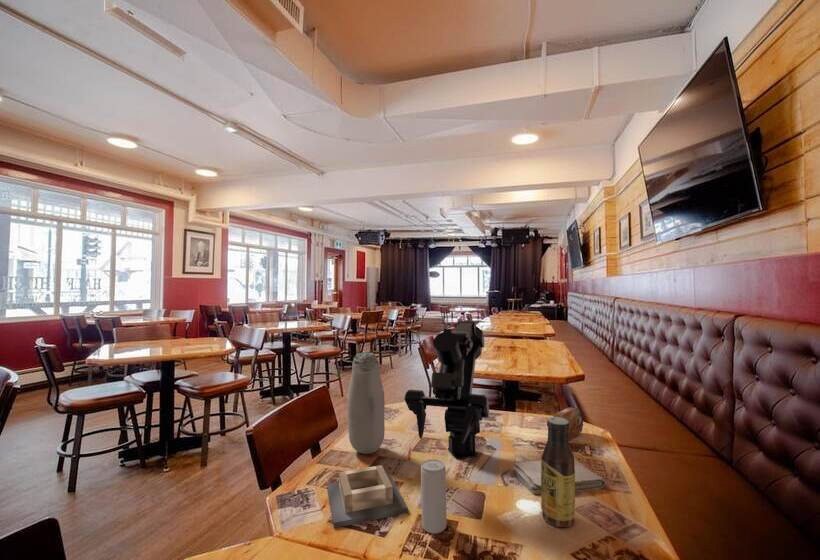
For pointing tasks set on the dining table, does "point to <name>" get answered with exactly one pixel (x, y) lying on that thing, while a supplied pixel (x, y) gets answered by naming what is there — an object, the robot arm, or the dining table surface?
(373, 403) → the grey bottle
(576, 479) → the washcloth
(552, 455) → the sauce bottle
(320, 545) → the dining table surface
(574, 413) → the brown rounded slab
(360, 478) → the can collar
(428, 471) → the beverage can
